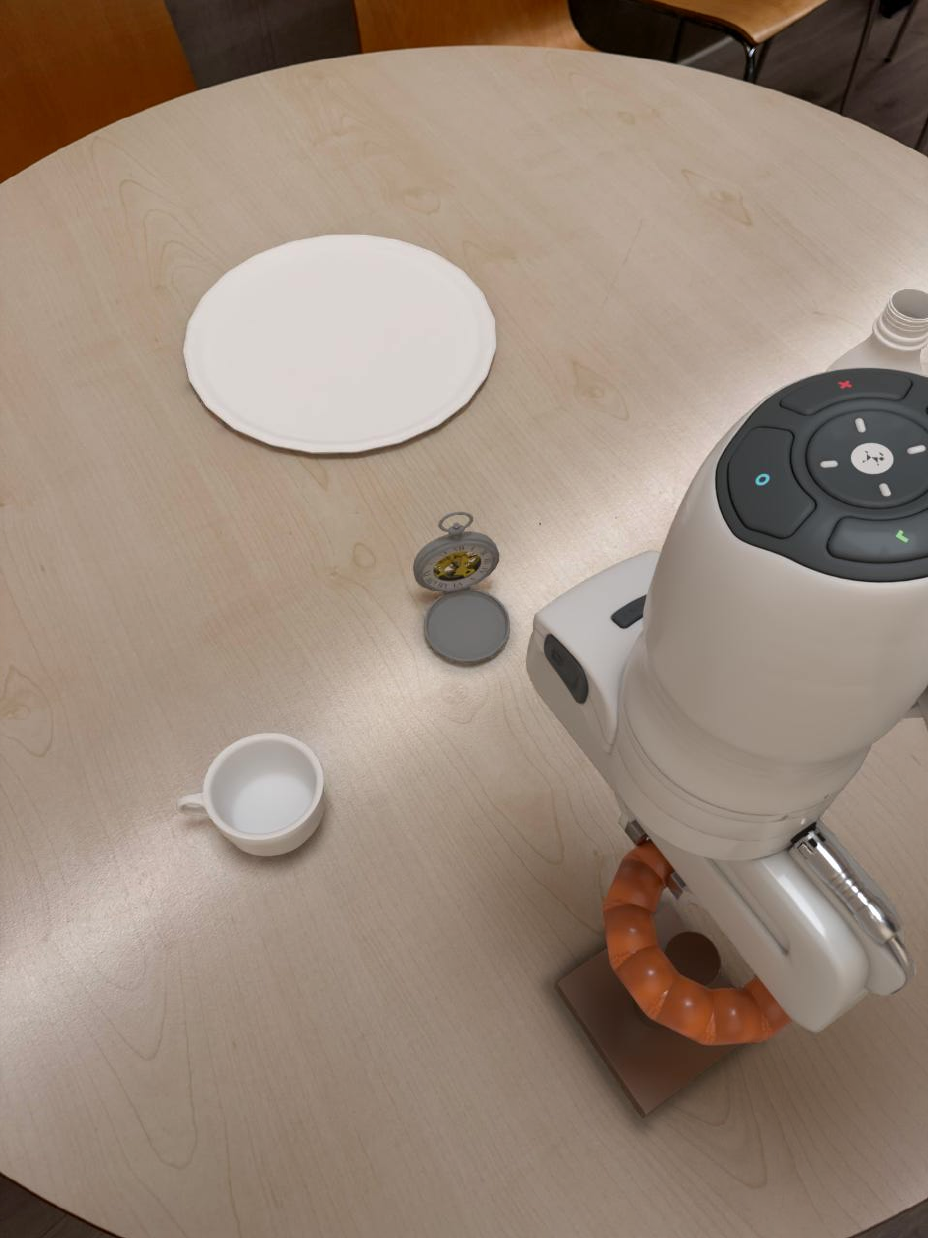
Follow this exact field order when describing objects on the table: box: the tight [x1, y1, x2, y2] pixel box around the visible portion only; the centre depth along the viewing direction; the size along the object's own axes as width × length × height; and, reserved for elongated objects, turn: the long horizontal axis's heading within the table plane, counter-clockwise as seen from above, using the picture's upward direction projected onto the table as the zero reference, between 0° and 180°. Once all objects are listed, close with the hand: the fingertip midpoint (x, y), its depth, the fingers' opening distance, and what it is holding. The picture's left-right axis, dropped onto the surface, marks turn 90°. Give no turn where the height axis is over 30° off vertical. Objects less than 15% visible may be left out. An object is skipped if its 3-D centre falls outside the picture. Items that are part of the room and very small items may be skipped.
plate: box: [182, 233, 497, 455], centre depth 96 cm, size 29×29×1 cm
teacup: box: [175, 732, 325, 857], centre depth 69 cm, size 10×8×5 cm
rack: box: [554, 904, 740, 1119], centre depth 59 cm, size 9×9×12 cm
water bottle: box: [825, 287, 928, 375], centre depth 74 cm, size 7×7×25 cm
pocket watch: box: [412, 511, 511, 665], centre depth 76 cm, size 8×8×10 cm
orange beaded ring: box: [602, 837, 794, 1046], centre depth 49 cm, size 10×10×2 cm
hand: (662, 857), depth 51 cm, fingers closed on orange beaded ring, 2 cm apart
